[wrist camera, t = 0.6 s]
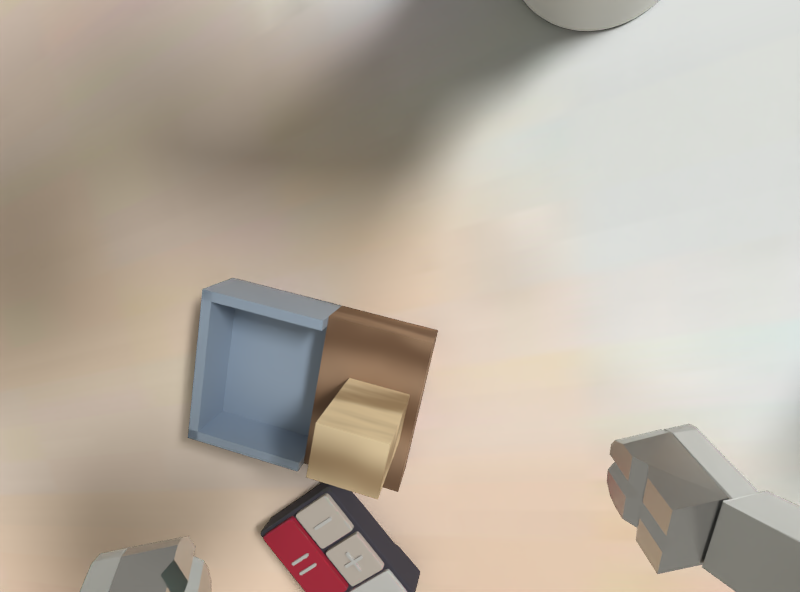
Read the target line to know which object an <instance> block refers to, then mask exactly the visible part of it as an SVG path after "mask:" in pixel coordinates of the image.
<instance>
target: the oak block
mask: <svg viewBox="0 0 800 592" xmlns="http://www.w3.org/2000/svg"><path fill="white" fill-rule="evenodd" d="M409 397H410V395H409V394H406V393H402V392H399V391H395V390H391V389H388V388H384V387H381V386H377V385H373V384H370V383H366V382H362V381H359V380H355V379H352V378H349V379H348V380H347V381H346V383H345V384H344V386H343V387H342V388H341V390H340V391H339V392H338V394H337V395H336V396H335V398H334V399H333V400H332V402H331V403H330V404H329V406H328V407H327V408H326V410H325V411H324V412H323V414H322V415H321V416H320V418H319V419H318V420H317V422H316V425H315V430H314V436H313V442H312V447H311V453H310V459H309V464H308V470H307V476H306V477H307V478H310V479H313V480H316V481H320V482H323V483H326V484H329V485H333V486H336V487H339V488H342V489H346V490H349V491H352V492H355V493H359V494H362V495H365V496H368V497H371V498H375V499H378V497H379V495H380V492H381V489H382V486H383V484H384V481H385V478H386V476H387V473H388V470H389V467H390V465H391V462H392V459H393V457H394V454H395V451H396V448H397V446H398V443H399V440H400V436H401V431H402V427H403V423H404V418H405V414H406V410H407V405H408V401H409Z"/></svg>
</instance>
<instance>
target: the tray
mask: <svg viewBox="0 0 800 592" xmlns="http://www.w3.org/2000/svg"><path fill="white" fill-rule="evenodd" d="M340 307H341V305H337V304H333V303H329V302H325V301H321V300H317V299H313V298H309V297H306V296H302V295H298V294H294V293H290V292H286V291H282V290H278V289H274V288H270V287H267V286H263V285H259V284H255V283H251V282H247V281H243V280H239V279H235V278H231V279H229V280H226V281H223V282H220V283H218V284H215V285H212V286H209V287H207V288H204V289H203V290H202V300H201V310H200V320H199V330H198V341H197V351H196V361H195V371H194V381H193V391H192V402H191V412H190V422H189V432H188V438H191V439H194V440H197V441H200V442H204V443H207V444H210V445H213V446H217V447H220V448H223V449H226V450H230V451H233V452H236V453H239V454H243V455H246V456H249V457H252V458H256V459H259V460H262V461H265V462H269V463H272V464H275V465H278V466H282V467H285V468H288V469H291V470H295V471H298V470H299V469H300V467H301V466H302V464H303V463H304V457H305V451H306V446H307V440H308V434H309V428H310V422H311V417H312V411H313V405H314V399H315V394H316V388H317V382H318V376H319V370H320V365H321V359H322V353H323V347H324V341H325V336H326V330H327V324H328V318H329V316H330V315H331V314H332V313H333V312H335V311H336V310H337V309H338V308H340Z"/></svg>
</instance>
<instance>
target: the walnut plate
mask: <svg viewBox="0 0 800 592" xmlns="http://www.w3.org/2000/svg"><path fill="white" fill-rule="evenodd" d="M437 333H438V330H434V329H431V328H427V327H423V326H419V325H415V324H411V323H407V322H403V321H399V320H395V319H391V318H388V317H384V316H380V315H376V314H372V313H368V312H364V311H360V310H356V309H352V308H349V307H345V306H341V307H340V308H338V309H337V310H336V311H335V312H333V313H332V314H331V315H330V316H329V318H328V324H327V330H326V336H325V341H324V347H323V353H322V359H321V365H320V370H319V376H318V382H317V388H316V394H315V399H314V405H313V411H312V417H311V422H310V428H309V434H308V440H307V446H306V451H305V457H304V463H305V464H309V459H310V453H311V447H312V442H313V436H314V430H315V425H316V422H317V420H318V419H319V418H320V416H321V415H322V414H323V412H324V411H325V410H326V408H327V407H328V406H329V404H330V403H331V402H332V400H333V399H334V398H335V396H336V395H337V394H338V392H339V391H340V390H341V388H342V387H343V386H344V384H345V383H346V381H347V380H348V379H349V378H352V379H355V380H359V381H362V382H366V383H370V384H373V385H377V386H381V387H384V388H388V389H391V390H395V391H399V392H402V393H406V394H409V395H410V397H409V401H408V405H407V410H406V414H405V418H404V423H403V427H402V431H401V436H400V440H399V443H398V446H397V448H396V451H395V454H394V457H393V459H392V462H391V465H390V467H389V470H388V473H387V476H386V478H385V481H384V484H383V486H382V487H384V488H387V489H390V490H394V491H397V492H398V490H399V487H400V484H401V480H402V477H403V474H404V471H405V467H406V463H407V459H408V455H409V450H410V446H411V442H412V438H413V434H414V429H415V425H416V421H417V417H418V413H419V408H420V404H421V400H422V396H423V391H424V387H425V383H426V379H427V375H428V370H429V366H430V362H431V358H432V354H433V349H434V345H435V341H436V337H437Z"/></svg>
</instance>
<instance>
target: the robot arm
mask: <svg viewBox="0 0 800 592" xmlns="http://www.w3.org/2000/svg"><path fill="white" fill-rule="evenodd" d="M523 1H524V2H525V3H526V4H527V5H528V7H530V8H531V9H532V10H533V11H534V12H535V13H536V14H537V15H539V16H540V17H541V18H543V19H545V20H546V21H548V22H550V23H552V24H554V25H557V26H560V27H563V28H566V29H571V30H578V31H595V30H603V29H608V28H612V27H615V26H618V25H621V24H623V23H626V22H628V21H630V20H632V19H634V18H636V17H638V16H639V15H641V14H643V13H644V12H646V11H647V10H649V9H650V8H651V7H653V6H654V5H655V4H656V3H657V2H658V1H660V0H523ZM610 455H611V457H612V458H613V460H614V461H615V462H614V463H613V464H612V466H611V467H610V468H609V469H608V474H607V484H608V488H609V493H610V496H611V498H612V501H613V503H614V505H615V507H616V509H617V511H618V512H619V514H620V516H621V517H622V519H624V520H625V521H627V522H629V523H630V524H632V525H634V526H635V527H637V532H636V541H637V543H638V544H639V546H640V547H641V549H642V551H643V552H644V554H645V555H646V557H647V559H648V560H649V562H650V563H651V565H652V566H653V568H654V570H655V571H656V573H657V574H660V573H665V572H669V571H674V570H679V569H683V568H688V567H693V566H698V565H702V564H703V566H702V568H704V569H705V570H707V571H708V572H709V573H711V574H712V575H713V576H715V577H716V578H718V579H719V580H720V581H722V582H723V583H724V584H726V585H727V586H729V587H730V588H731V589H733V590H734V591H736V592H800V506H798V505H796V504H794V503H792V502H790V501H788V500H786V499H784V498H781V497H779V496H777V495H775V494H773V493H771V492H769V491H763V492H759V491H758V490H757V489H756V488H755V487H754V486H753V485H752V484H751V483H750V482H749V481H748V480H747V479H746V478H745V477H744V476H743V475H742V474H741V473H740V472H739V471H738V470H737V469H736V468H735V467H734V466H733V465H732V464H731V463H730V461H729V460H728V459H727V458H726V457H725V456H724V455H723V454H722V453H721V452H720V451H719V450H718V449H717V448H716V447H715V446H714V445H713V444H712V443H711V442H710V441H709V440H708V439H707V438H706V437H705V436H704V435H703V434H702V433H701V431H700V430H699V429H698V428H697V427H695V426H693V425H691V424H686V425H681V426H677V427H672V428H668V429H664V430H661V429H660V430H656V431H652V432H648V433H644V434H639V435H635V436H631V437H627V438H623V439H618V440H615V441H614V442H613V443H612V444H611V449H610ZM195 548H196V546H195V544H194V543H193V541H192V540H191V538H190V537H189V536H185V537H180V538H175V539H170V540H165V541H160V542H155V543H150V544H145V545H139V546H134V547H129V548H124V549H120V550H115V551H110V552H106V553H101V554H99V555H98V557H97V558H96V559H95V560H94V561H93V562H92V564H91V566H90V568H89V571H88V573H87V576H86V578H85V580H84V583H83V585H82V587H81V590H80V592H212V588H211V577H210V573H209V569H208V567H207V565H206V563H205V562H204V560H201V559H199V558H197V557H194V552H195Z"/></svg>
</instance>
